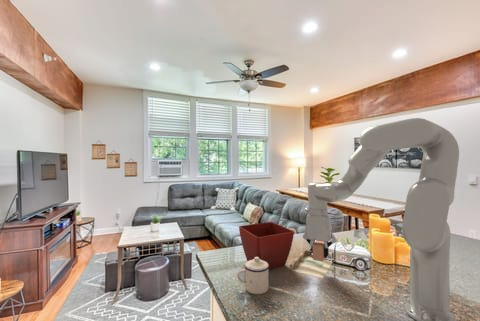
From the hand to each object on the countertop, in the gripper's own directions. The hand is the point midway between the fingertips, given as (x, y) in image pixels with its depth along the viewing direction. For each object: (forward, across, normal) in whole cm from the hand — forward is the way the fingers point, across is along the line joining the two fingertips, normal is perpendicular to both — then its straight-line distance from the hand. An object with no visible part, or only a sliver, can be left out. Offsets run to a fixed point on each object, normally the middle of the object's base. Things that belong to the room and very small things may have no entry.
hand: (320, 255), depth 101 cm
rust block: (+1, 0, 0) cm, 1 cm away
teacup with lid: (+8, -19, -24) cm, 31 cm away
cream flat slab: (+8, -5, +7) cm, 12 cm away
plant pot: (+8, -24, -3) cm, 25 cm away
